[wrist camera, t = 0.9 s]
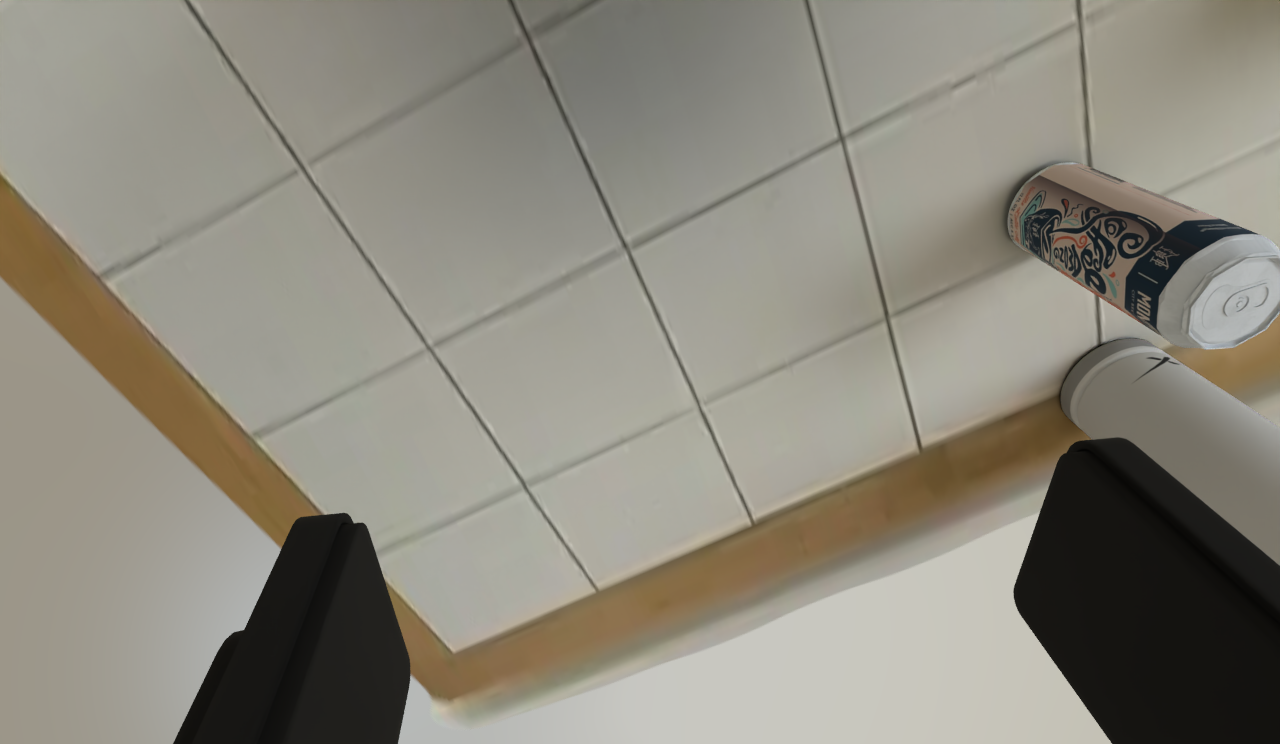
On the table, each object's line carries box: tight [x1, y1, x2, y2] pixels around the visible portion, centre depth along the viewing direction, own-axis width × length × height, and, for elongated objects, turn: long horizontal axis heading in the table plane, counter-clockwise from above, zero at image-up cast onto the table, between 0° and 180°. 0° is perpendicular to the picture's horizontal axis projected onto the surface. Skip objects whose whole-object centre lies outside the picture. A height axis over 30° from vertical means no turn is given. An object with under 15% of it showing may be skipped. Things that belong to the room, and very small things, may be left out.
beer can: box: [1007, 162, 1280, 350], centre depth 31 cm, size 5×5×12 cm
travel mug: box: [1060, 338, 1280, 565], centre depth 34 cm, size 6×7×20 cm
